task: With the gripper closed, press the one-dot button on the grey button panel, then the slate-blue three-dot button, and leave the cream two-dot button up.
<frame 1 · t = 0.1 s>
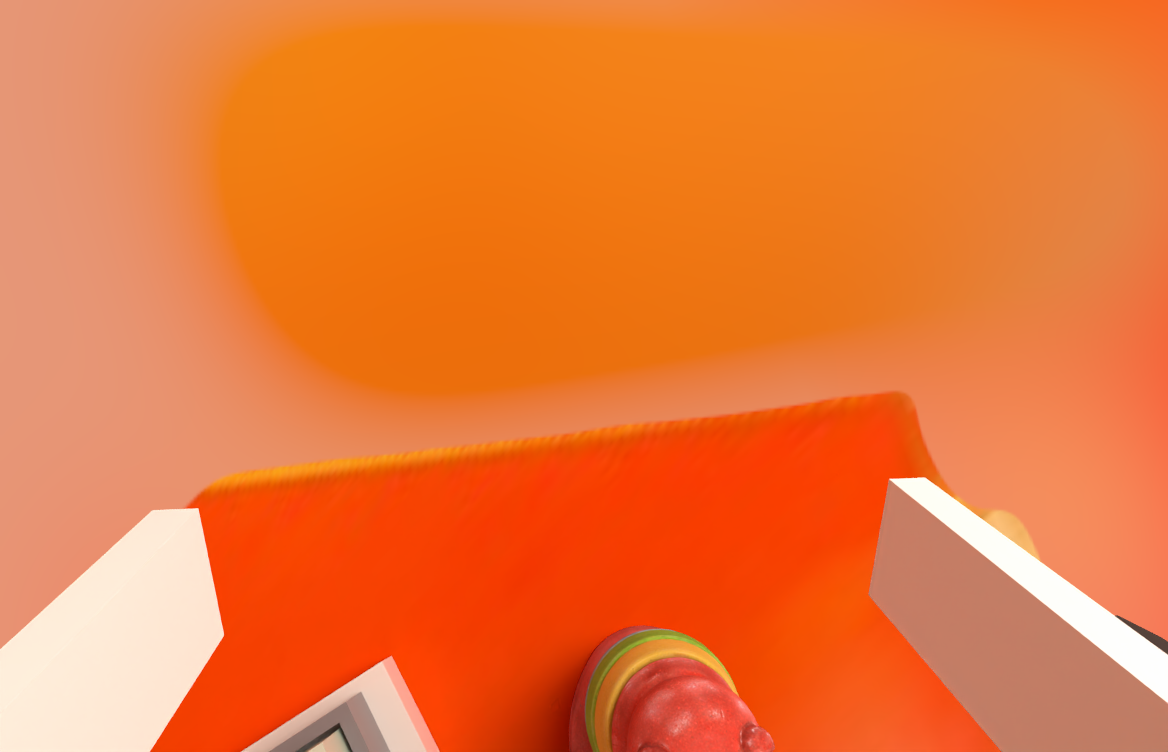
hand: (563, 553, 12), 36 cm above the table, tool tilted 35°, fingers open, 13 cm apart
stacking bear: (642, 698, 44), on the table
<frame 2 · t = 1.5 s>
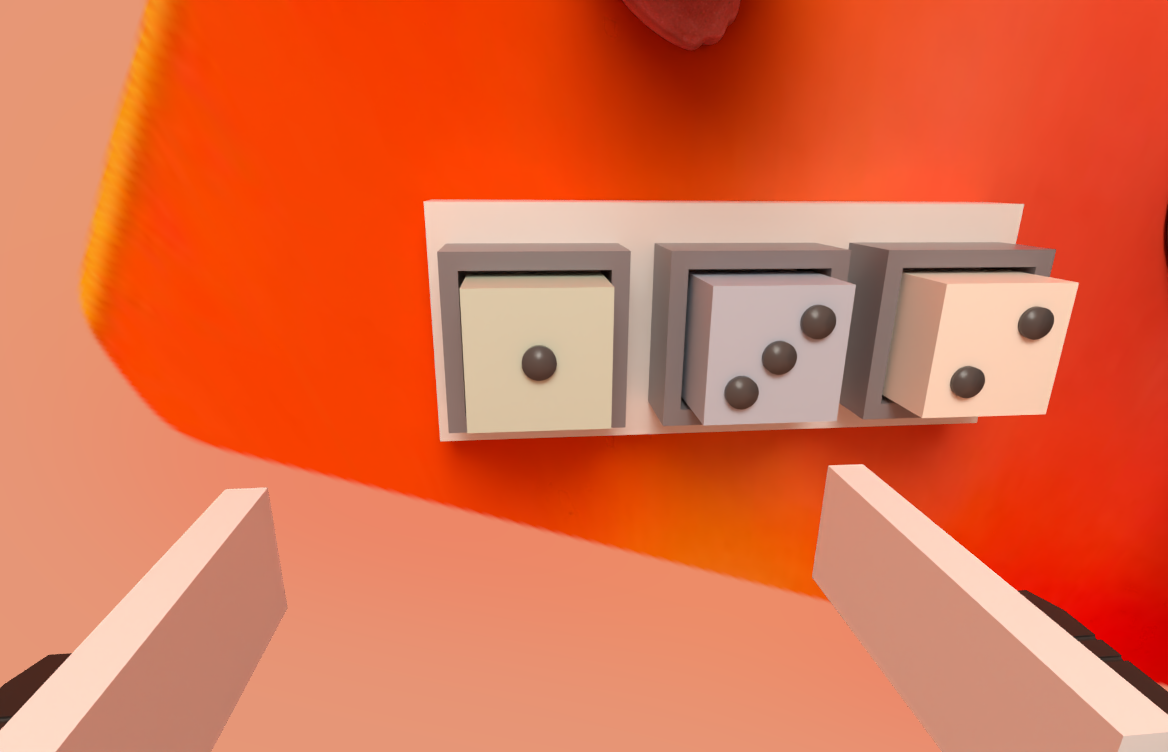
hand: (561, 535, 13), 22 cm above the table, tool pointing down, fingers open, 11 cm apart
button three dot: (761, 345, 28), point 7 cm above the table, slide at 0.0 cm
button one dot: (537, 349, 27), point 7 cm above the table, slide at 0.0 cm
button two dot: (969, 341, 29), point 7 cm above the table, slide at 0.0 cm
button panel: (711, 311, 35), on the table
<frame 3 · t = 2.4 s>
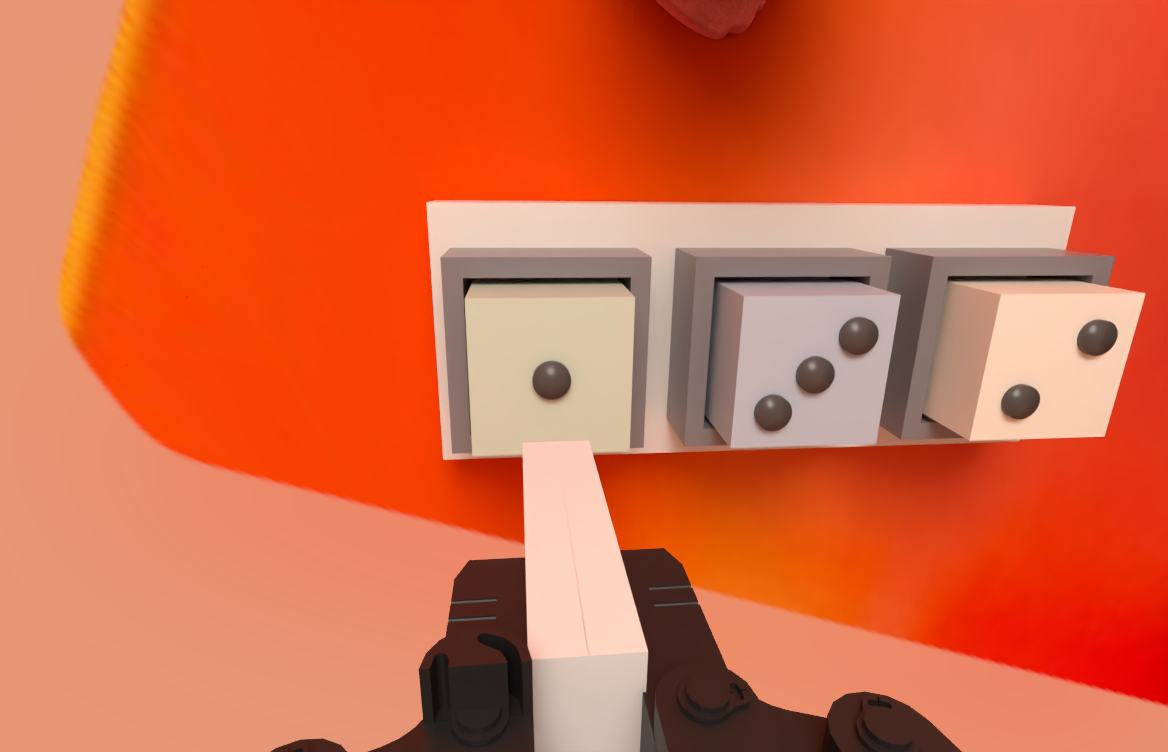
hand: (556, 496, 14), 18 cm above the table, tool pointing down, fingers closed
button three dot: (793, 360, 25), point 7 cm above the table, slide at 0.0 cm
button one dot: (549, 364, 24), point 7 cm above the table, slide at 0.0 cm
button two dot: (1019, 356, 26), point 7 cm above the table, slide at 0.0 cm
button panel: (734, 321, 32), on the table
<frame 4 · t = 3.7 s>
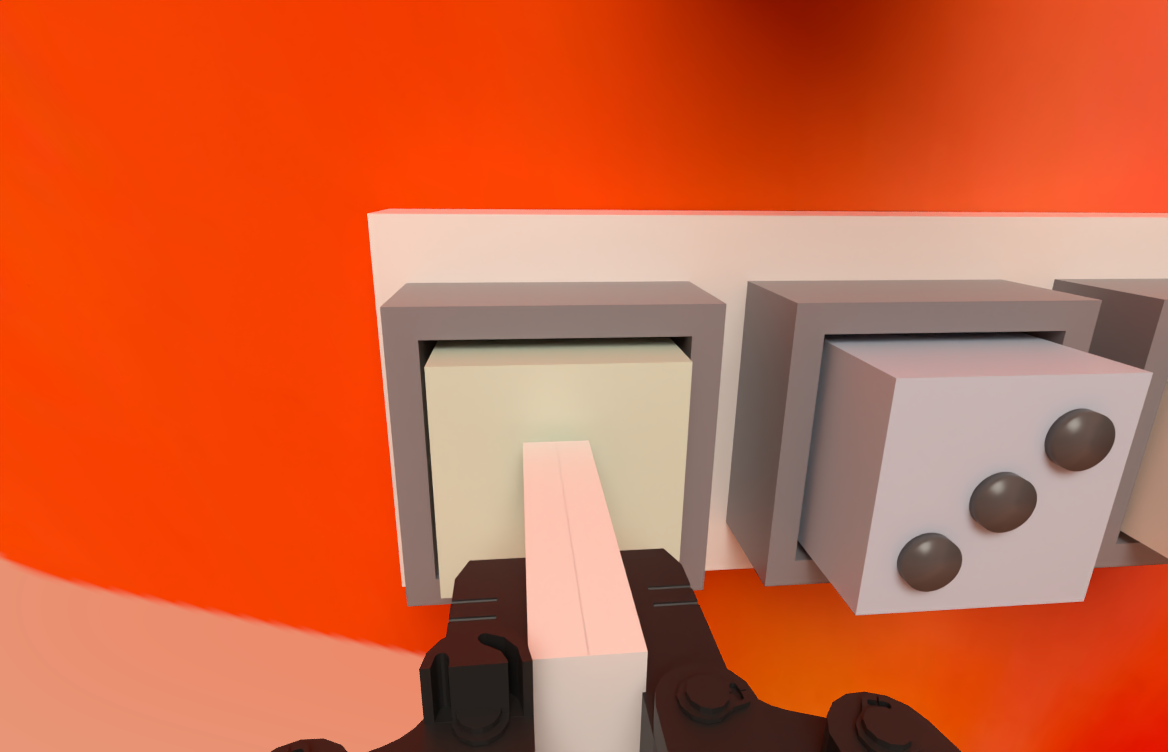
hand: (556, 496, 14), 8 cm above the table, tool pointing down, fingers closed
button three dot: (945, 464, 16), point 7 cm above the table, slide at 0.0 cm
button one dot: (557, 452, 16), point 6 cm above the table, slide at 1.5 cm
button panel: (816, 377, 23), on the table
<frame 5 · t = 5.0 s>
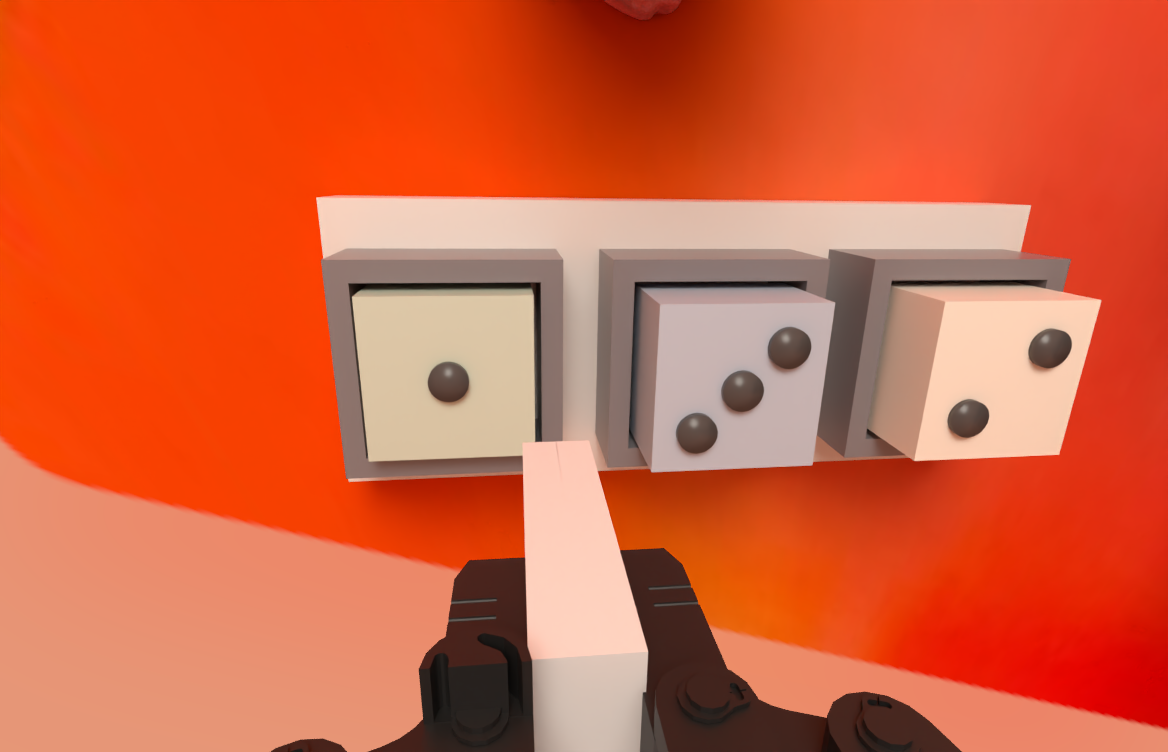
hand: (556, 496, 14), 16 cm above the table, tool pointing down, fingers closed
button three dot: (722, 373, 23), point 7 cm above the table, slide at 0.0 cm
button one dot: (453, 365, 23), point 6 cm above the table, slide at 1.8 cm
button two dot: (969, 367, 24), point 7 cm above the table, slide at 0.0 cm
button panel: (672, 327, 30), on the table
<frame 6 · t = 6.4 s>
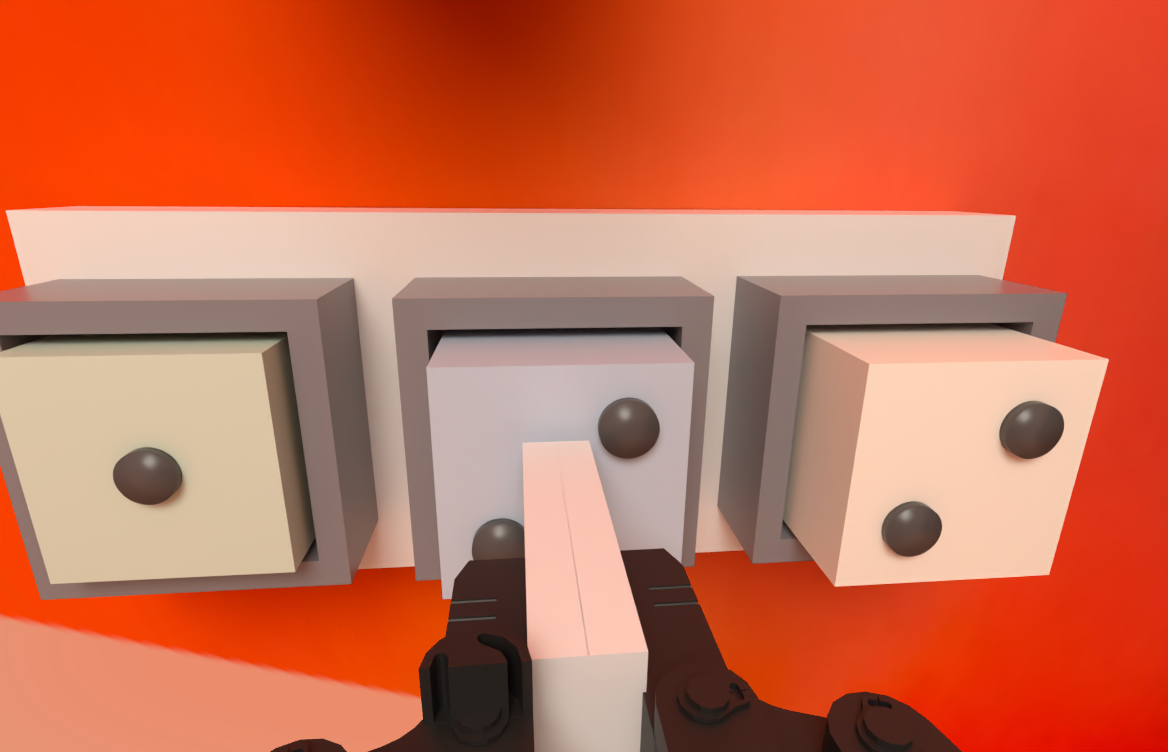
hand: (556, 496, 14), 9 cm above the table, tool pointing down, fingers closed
button three dot: (558, 453, 16), point 7 cm above the table, slide at 0.4 cm, touching gripper
button one dot: (190, 442, 17), point 6 cm above the table, slide at 1.8 cm
button two dot: (920, 446, 17), point 7 cm above the table, slide at 0.0 cm
button panel: (547, 374, 23), on the table
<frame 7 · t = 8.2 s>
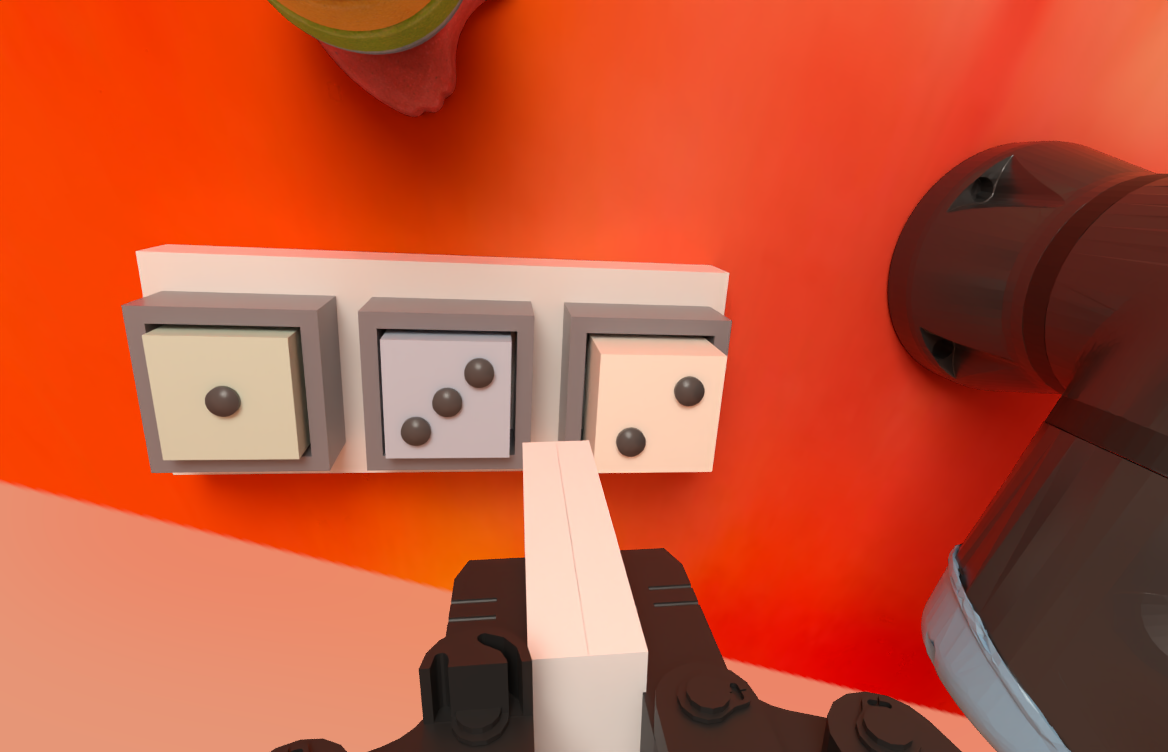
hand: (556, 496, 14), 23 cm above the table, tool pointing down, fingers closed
button three dot: (450, 388, 31), point 6 cm above the table, slide at 1.8 cm
button one dot: (240, 386, 30), point 6 cm above the table, slide at 1.8 cm
button two dot: (649, 402, 31), point 7 cm above the table, slide at 0.0 cm
button panel: (457, 357, 37), on the table
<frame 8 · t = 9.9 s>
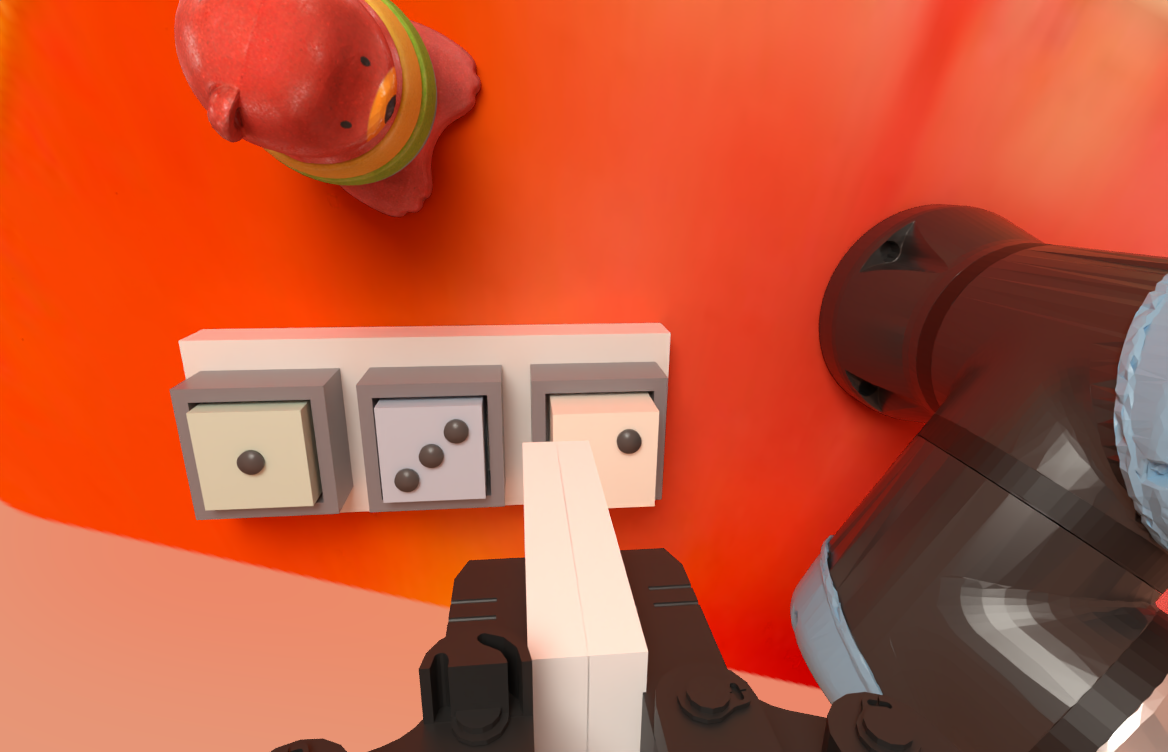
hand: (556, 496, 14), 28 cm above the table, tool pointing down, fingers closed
button three dot: (435, 442, 38), point 6 cm above the table, slide at 1.8 cm
stacking bear: (376, 106, 37), on the table
button one dot: (264, 447, 37), point 6 cm above the table, slide at 1.8 cm
button two dot: (601, 448, 37), point 7 cm above the table, slide at 0.0 cm
button panel: (445, 409, 43), on the table
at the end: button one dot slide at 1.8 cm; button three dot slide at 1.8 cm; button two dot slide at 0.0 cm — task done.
